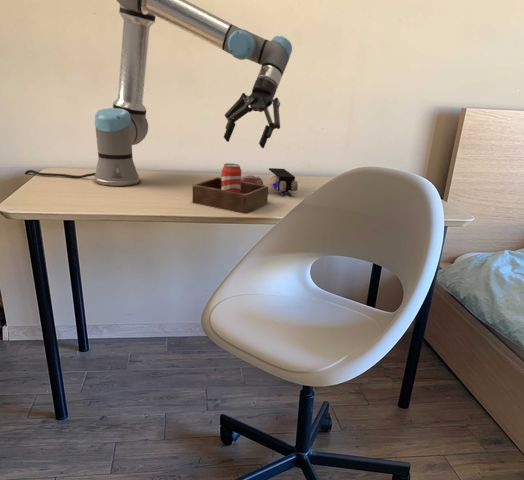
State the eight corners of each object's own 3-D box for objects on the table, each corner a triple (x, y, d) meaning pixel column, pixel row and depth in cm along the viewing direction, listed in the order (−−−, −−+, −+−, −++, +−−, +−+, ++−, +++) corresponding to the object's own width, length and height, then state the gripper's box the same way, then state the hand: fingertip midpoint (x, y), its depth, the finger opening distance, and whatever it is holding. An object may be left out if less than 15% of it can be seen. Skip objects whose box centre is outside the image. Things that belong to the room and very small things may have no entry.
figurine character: (297, 201, 182) (282, 186, 193) (300, 179, 177) (284, 166, 188) (280, 201, 180) (265, 186, 191) (283, 180, 175) (267, 166, 186)
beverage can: (233, 199, 172) (235, 162, 166) (243, 204, 167) (245, 166, 161) (217, 201, 169) (218, 163, 163) (227, 206, 164) (228, 167, 158)
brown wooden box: (192, 202, 165) (192, 184, 163) (217, 193, 178) (217, 177, 175) (245, 213, 158) (246, 195, 156) (267, 203, 171) (268, 186, 168)
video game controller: (235, 196, 183) (238, 180, 177) (233, 187, 185) (235, 171, 179) (262, 196, 185) (265, 180, 179) (259, 187, 188) (262, 171, 182)
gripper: (230, 72, 170) (207, 130, 169) (297, 80, 160) (272, 142, 159) (239, 87, 177) (216, 143, 176) (303, 96, 167) (280, 154, 166)
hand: (243, 142), depth 167 cm, fingers open, 13 cm apart
